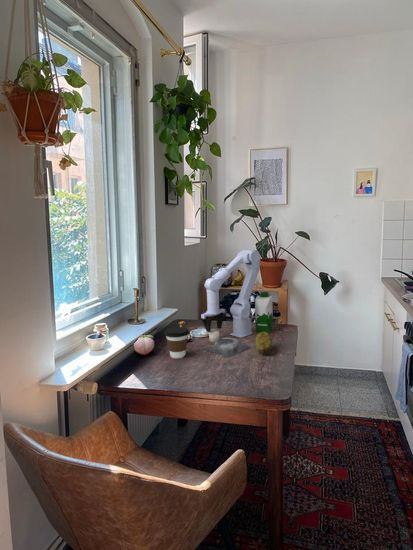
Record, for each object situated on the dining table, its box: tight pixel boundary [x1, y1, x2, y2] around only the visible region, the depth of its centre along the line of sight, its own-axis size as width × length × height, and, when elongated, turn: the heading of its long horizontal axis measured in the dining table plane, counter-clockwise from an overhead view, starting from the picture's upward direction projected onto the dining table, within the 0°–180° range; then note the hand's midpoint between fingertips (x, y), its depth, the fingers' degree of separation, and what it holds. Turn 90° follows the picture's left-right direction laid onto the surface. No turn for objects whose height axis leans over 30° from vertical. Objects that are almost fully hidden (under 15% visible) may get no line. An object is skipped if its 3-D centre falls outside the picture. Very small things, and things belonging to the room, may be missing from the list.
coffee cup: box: [164, 326, 190, 359], centre depth 181 cm, size 11×11×12 cm
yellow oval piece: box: [255, 332, 273, 355], centre depth 183 cm, size 8×13×8 cm, turn 160°
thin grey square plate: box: [201, 337, 252, 358], centre depth 188 cm, size 16×16×4 cm
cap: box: [208, 328, 220, 343], centre depth 201 cm, size 5×5×5 cm
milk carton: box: [254, 291, 274, 334], centre depth 212 cm, size 9×9×20 cm
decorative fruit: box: [133, 333, 155, 356], centre depth 184 cm, size 9×8×10 cm
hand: (213, 329), depth 200 cm, fingers open, 7 cm apart
